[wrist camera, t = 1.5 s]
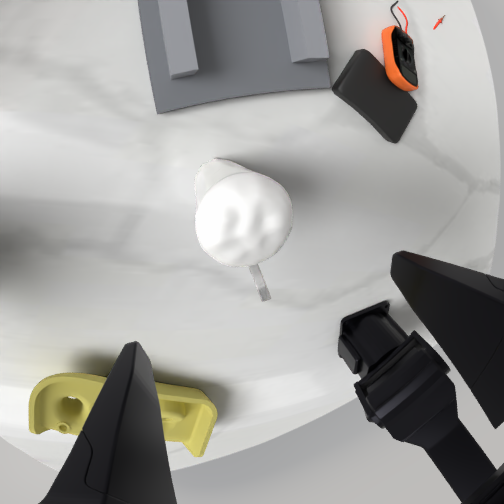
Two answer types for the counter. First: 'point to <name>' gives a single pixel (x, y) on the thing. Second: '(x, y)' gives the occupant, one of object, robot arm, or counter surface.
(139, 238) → the counter surface
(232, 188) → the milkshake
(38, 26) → the counter surface
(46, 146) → the counter surface
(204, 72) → the header socket
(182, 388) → the plastic component
